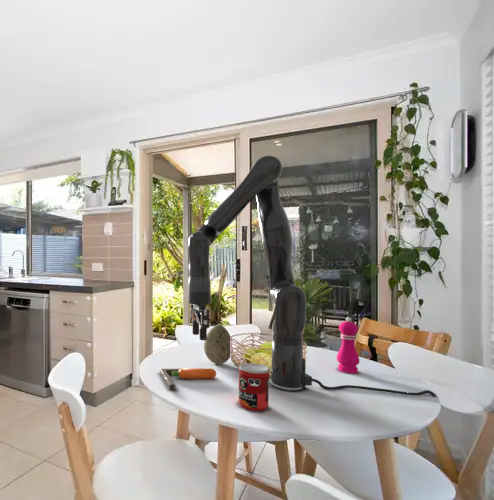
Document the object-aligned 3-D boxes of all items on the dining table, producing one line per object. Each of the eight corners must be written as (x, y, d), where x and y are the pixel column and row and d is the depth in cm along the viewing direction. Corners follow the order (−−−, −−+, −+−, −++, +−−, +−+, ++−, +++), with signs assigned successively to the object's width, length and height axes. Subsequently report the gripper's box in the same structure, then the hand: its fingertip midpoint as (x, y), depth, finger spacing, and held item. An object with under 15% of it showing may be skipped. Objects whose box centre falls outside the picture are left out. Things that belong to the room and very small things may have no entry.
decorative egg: (236, 368, 139) (236, 327, 140) (207, 367, 140) (207, 327, 140) (227, 359, 150) (228, 322, 150) (201, 359, 150) (201, 321, 150)
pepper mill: (359, 370, 140) (360, 317, 140) (359, 375, 134) (360, 319, 134) (336, 366, 144) (337, 314, 144) (336, 371, 138) (337, 317, 138)
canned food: (232, 402, 107) (233, 364, 107) (254, 399, 110) (254, 361, 110) (252, 413, 100) (252, 372, 100) (274, 409, 103) (275, 369, 103)
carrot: (214, 375, 129) (214, 366, 129) (217, 380, 126) (217, 370, 126) (171, 376, 128) (171, 367, 128) (173, 380, 125) (173, 371, 125)
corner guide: (204, 373, 132) (204, 368, 133) (220, 389, 117) (220, 384, 117) (159, 373, 131) (160, 368, 131) (169, 390, 115) (169, 384, 115)
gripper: (217, 291, 121) (217, 342, 121) (203, 287, 135) (203, 332, 135) (194, 292, 120) (194, 342, 120) (183, 287, 134) (183, 333, 134)
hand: (199, 337), depth 127 cm, fingers open, 8 cm apart
